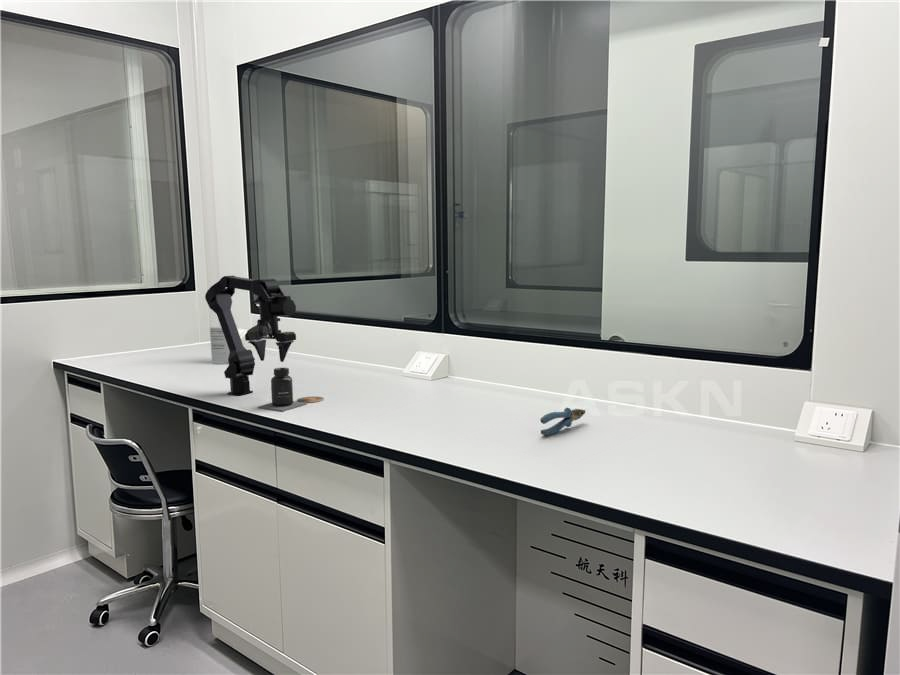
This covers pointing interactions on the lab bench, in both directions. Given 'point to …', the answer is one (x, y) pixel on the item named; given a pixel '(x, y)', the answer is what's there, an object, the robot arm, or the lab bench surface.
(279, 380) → the supplement bottle
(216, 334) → the supplement box
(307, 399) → the walnut coaster
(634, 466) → the lab bench surface
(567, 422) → the pliers
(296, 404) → the charcoal mat
